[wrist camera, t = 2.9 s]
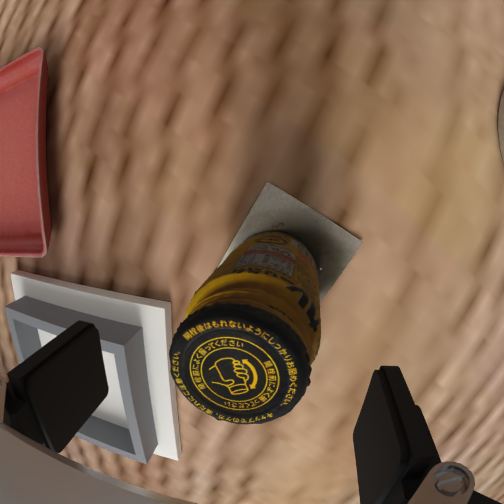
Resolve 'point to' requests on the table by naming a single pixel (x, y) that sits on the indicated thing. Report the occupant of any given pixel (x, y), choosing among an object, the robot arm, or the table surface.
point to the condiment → (260, 313)
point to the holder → (109, 359)
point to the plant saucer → (24, 157)
